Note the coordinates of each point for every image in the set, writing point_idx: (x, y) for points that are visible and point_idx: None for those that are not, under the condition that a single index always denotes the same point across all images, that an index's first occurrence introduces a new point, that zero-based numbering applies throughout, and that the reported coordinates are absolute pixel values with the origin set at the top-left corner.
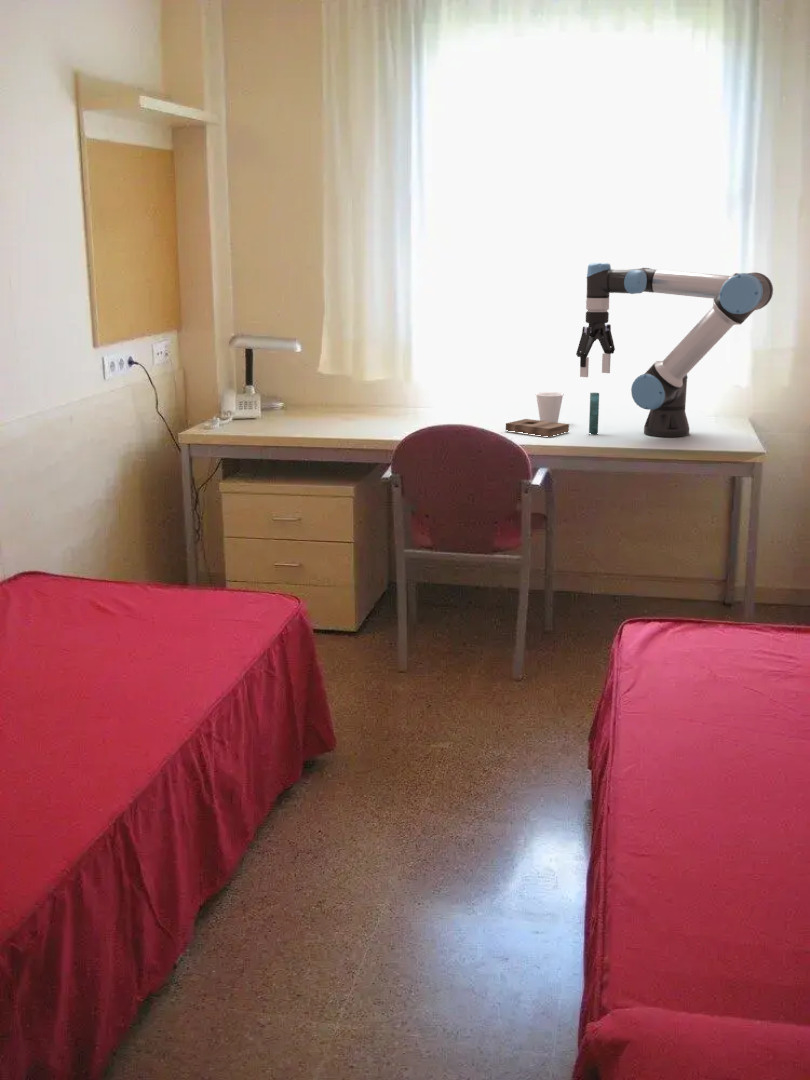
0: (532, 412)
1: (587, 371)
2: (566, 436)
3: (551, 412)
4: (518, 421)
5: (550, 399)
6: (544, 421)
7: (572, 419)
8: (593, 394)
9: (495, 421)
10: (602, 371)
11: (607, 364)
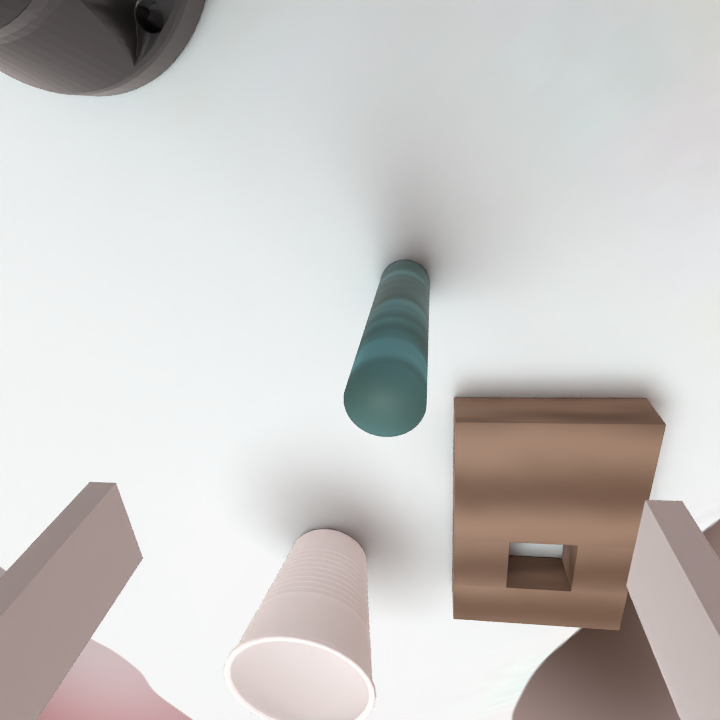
0: (174, 684)
1: (712, 571)
2: (557, 352)
3: (349, 581)
4: (537, 613)
5: (353, 644)
6: (463, 539)
7: (165, 540)
8: (424, 389)
9: (413, 699)
10: (132, 563)
11: (45, 595)
